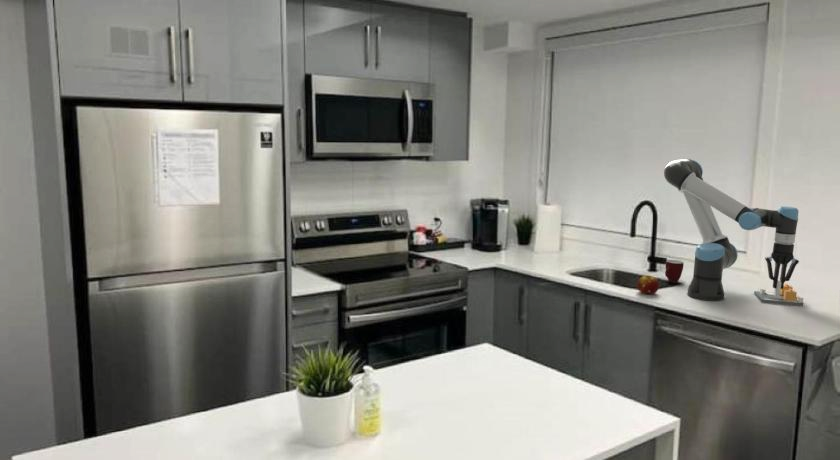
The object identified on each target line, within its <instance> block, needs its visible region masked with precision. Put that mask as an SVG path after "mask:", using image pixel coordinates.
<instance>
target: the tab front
mask: <svg viewBox="0 0 840 460" xmlns="http://www.w3.org/2000/svg"><path fill="white" fill-rule="evenodd" d="M797 293H798V292H797V291H796V290H793V289H789V290H784V297H783V299H784V300H785V301H796V297H797V296H798V295H797Z"/></svg>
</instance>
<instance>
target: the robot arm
mask: <svg viewBox="0 0 840 460" xmlns="http://www.w3.org/2000/svg"><path fill="white" fill-rule="evenodd" d="M703 173H704V172H703V168H702V165H701V164H700V163H699V162H698V161H696V160H694V159H690V158H684V159H676V160H672V161H670V162H669V163H668V164H667V165H666V166H665V168H664V171H663V174H664V179H665V181H666V182H667V183H668V184H669V185H671V186H673V187H675V188H676V189H677V190H678V192H679V193H682V194H683V195H684V197H685V200H686V203H687V205H688V208H689V210H690V212H691V214H692V217H693V219H694V221H695V224H696V227H697V229H698V231H699V233H700V236H701V239H702V243H700V244H698V245H697V246H696V248H695V253H694V262H693V263H694V264H693V265H694V266H693V277H692V279H691V281H690V284H689V285H688V288H687V293H686V294H687V295H688V296H689V297H691V298H694V299H696V300H697V299H698V300H703V301H715V302H716V301H723V300H724V299H725V295H726V294H725V291H724V290H725V289H724V286H723V282H722V280H723V270H725V269H727V268H730V267H731V266H733V265H734V264H735V263H736V261H737V260H738V257H739V256H738V255H739V254H738V253H739V252H738V250H737V248H736V247H735V245H734V244H732V243H731V242H730V240H729V237H728V236H727V235H725V234H723V233H722V230H721V227H720V226H719V222H718V221H717V218H716V216H715V213H714V211H713V210H712V209H715V210H717V211H719V212H720V213H721V214H723V215H725V216H727V217H728V218H730V219H732V220H733V221H734V222H736V223H738V225H739V226H740V228H741V229H742V230H745V231H754V230H756V229H759V228H761V227H766V228H773V229H774V228H775V233H774V240H773V241H774V242H773V246H772V253H770V255H769V256H765V257H764V260H765V261H766V265H767V266H766V267H767V272H768V278H769V279H770V280H772V287H773V289H774V292H773V293H774V295H775V296H777V297H780V290H781V289H783V286H784V285H785V283H786V282H789V281H790V280H791V277H792V275H793V273H794V270H795V269H796V266H797V265H798V264H800V263H799V262H800V261H799V260H798V259H797V258H795V256H794V247H795V241H796V234H797V226H798V220H799V209H798V208H797V207H793V206H779V207H778V209H777V210H774V209H773V210H772V209H765V208H759V207H748V206H747V205H745V204H743V203H741V202H740V201H738V200H736V199H734V198H733V197H732V196H730V195H728V194H726V193H724V192H723V191H721V190H719V189H718V188H717V187H714V186H713V185H711V184H710V183H708V182H706V181H705V180H704V179H703ZM772 261H774V264H775V265H774V271H773V265H772ZM790 262H791V263H790ZM788 264H790V265H789V268H788ZM780 268H781V269H780ZM787 268H788V270H787ZM779 275H780V276H779Z"/></svg>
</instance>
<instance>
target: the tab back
mask: <svg viewBox="0 0 840 460" xmlns="http://www.w3.org/2000/svg"><path fill="white" fill-rule="evenodd" d="M789 289H792V290H793V289H794V287H793V286H792V285H790V284H788V283H784V286H783V289H781V290H780V294H781V295H784V290H789Z"/></svg>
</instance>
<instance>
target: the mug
mask: <svg viewBox="0 0 840 460" xmlns="http://www.w3.org/2000/svg"><path fill="white" fill-rule="evenodd" d="M684 264H685V263H684V261H682V260H677V259H665V271H664V272H665V273H664V275H665V277H666V278H667V280H668V282H670V283H677V282H679V280H680V279H681V277H682V274H683V270H684Z"/></svg>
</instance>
